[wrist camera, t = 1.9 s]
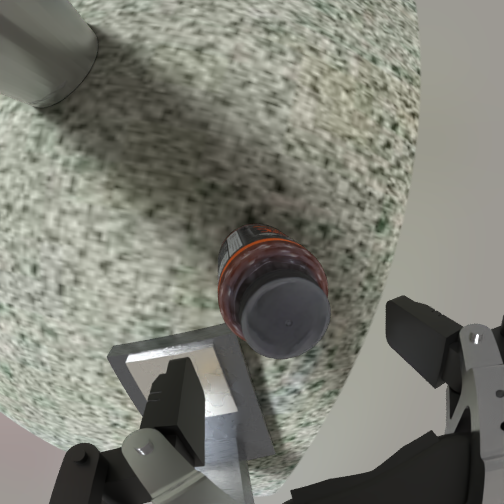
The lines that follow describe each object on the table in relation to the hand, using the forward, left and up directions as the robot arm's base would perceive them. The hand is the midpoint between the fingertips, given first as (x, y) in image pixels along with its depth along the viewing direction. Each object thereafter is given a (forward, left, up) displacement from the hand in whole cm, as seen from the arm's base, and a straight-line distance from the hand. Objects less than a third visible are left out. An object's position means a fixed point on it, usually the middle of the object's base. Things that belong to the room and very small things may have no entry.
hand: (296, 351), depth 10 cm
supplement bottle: (0, 0, -13) cm, 13 cm away
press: (+14, -9, -13) cm, 21 cm away
